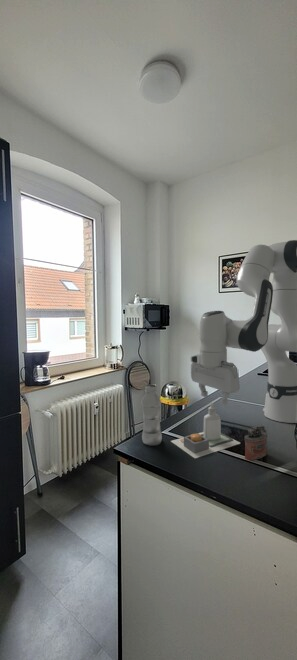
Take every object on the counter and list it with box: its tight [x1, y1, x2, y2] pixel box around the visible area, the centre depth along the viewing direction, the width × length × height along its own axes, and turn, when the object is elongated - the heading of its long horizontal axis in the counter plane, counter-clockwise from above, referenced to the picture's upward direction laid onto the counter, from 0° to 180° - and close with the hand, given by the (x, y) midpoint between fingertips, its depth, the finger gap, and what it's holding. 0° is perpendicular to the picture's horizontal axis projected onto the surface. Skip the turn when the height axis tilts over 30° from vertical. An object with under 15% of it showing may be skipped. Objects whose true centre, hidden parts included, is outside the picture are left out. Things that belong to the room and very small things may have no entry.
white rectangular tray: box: [170, 431, 241, 459], centre depth 90 cm, size 19×13×4 cm
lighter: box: [244, 424, 268, 461], centre depth 81 cm, size 8×3×10 cm, turn 117°
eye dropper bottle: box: [203, 403, 222, 440], centre depth 92 cm, size 4×6×12 cm
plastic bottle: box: [140, 384, 163, 447], centre depth 91 cm, size 6×7×20 cm
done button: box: [190, 433, 202, 442], centre depth 86 cm, size 3×3×2 cm
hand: (213, 399), depth 92 cm, fingers open, 8 cm apart
